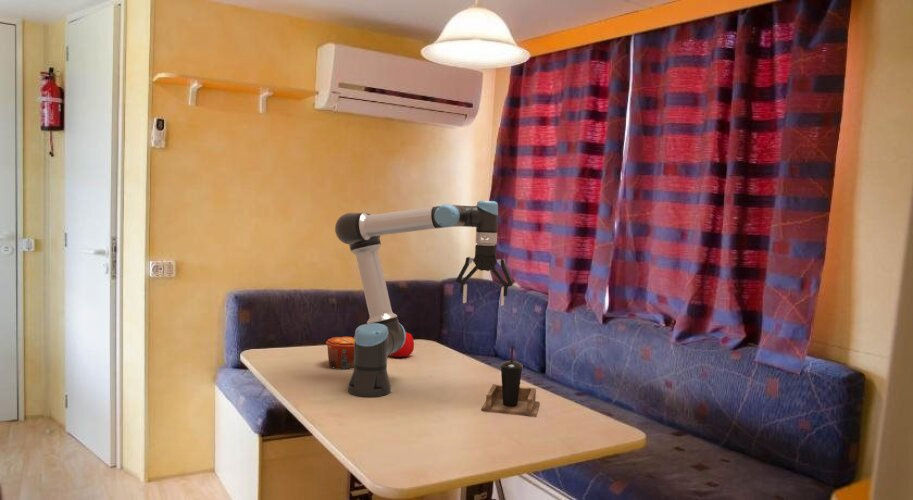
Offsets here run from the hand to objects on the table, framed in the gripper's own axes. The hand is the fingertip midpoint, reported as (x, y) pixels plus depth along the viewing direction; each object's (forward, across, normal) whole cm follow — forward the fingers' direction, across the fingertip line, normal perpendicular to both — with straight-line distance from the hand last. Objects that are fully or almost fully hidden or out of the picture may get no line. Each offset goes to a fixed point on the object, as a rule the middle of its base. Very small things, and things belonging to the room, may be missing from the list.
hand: (483, 304), depth 231 cm
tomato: (+33, -44, +46) cm, 72 cm away
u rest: (+33, +13, -12) cm, 37 cm away
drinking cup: (+32, +13, -12) cm, 36 cm away
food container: (+33, -60, +22) cm, 72 cm away
